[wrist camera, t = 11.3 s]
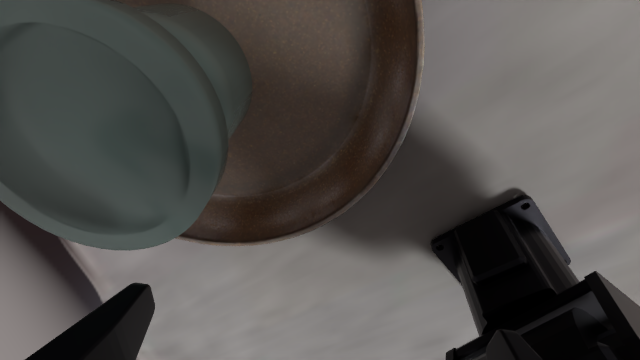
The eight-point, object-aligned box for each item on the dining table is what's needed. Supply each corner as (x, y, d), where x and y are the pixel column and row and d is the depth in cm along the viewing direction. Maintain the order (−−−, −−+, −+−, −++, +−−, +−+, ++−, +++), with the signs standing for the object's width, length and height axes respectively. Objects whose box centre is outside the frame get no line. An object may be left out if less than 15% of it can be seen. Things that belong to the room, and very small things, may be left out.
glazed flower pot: (299, 98, 15) (268, 177, 9) (189, 178, 18) (108, 281, 12) (177, -60, 13) (23, -95, 7) (68, 60, 15) (-117, 114, 9)
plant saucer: (354, 243, 24) (355, 280, 21) (53, 182, 23) (12, 212, 20) (490, -160, 13) (528, -192, 10) (-76, -301, 12) (-202, -378, 9)
